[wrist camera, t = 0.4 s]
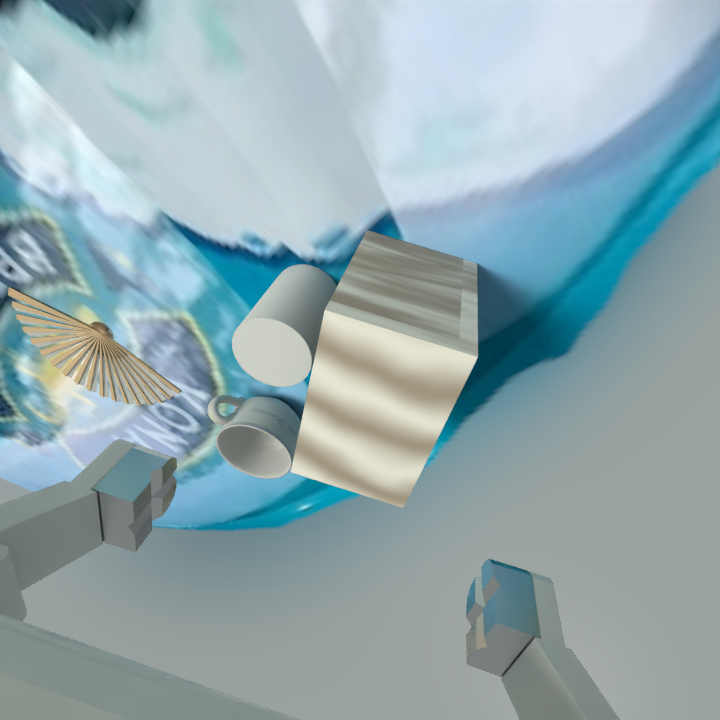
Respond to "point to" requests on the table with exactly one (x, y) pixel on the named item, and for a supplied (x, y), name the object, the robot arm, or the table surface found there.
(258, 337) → the cup
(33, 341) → the hand fan
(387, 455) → the marbled side table
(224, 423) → the teacup
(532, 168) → the table surface
